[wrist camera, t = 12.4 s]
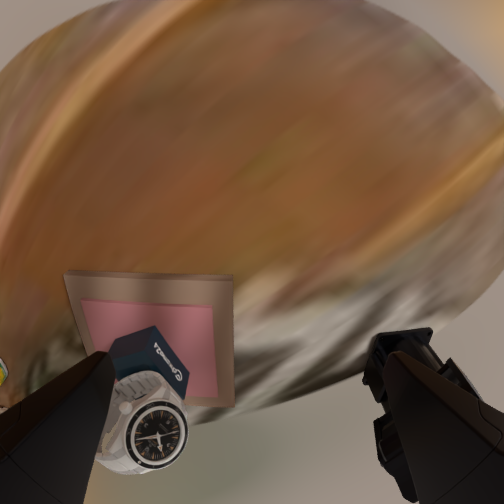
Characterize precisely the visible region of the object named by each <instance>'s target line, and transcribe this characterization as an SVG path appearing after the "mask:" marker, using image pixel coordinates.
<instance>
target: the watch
mask: <svg viewBox="0 0 504 504" xmlns="http://www.w3.org/2000/svg"><path fill="white" fill-rule="evenodd" d="M108 353H109V354H110V356H111V358H112V361H113V364H114V367H115V370H116V379H117V380H118V382H117V383H116V384H114V387H113V392H112V397H111V401H110V406H109V411H108V415H107V419H106V422H105V425H104V428H103V432H102V435H101V438H100V442H99V445H98V448H97V452H96V455H95V459H96V460H97V461H99V462H100V463H101V464H103V465H104V466H105V467H107V468H108V469H109V470H111V471H113V472H115V473H118V474H124V475H126V474H127V475H129V474H130V475H131V474H137V473H139V474H144V473H146V472H149V471H151V470H157V469H162V468H165V467H167V466H169V465H170V464H172V463H173V462H174V461H176V460H177V459H178V458H179V456H180V455H181V454H182V452H183V451H184V449H185V446H186V443H187V440H188V434H189V432H188V431H189V430H188V429H189V428H188V422H187V412H186V411H185V410H186V408H185V405H184V403H183V400H184V399H185V395H186V390H187V385H188V380H189V375H190V373H189V371H188V370H187V369H186V367H185V366H184V365H183V363H182V362H181V361H180V359H179V358H178V357H177V355H176V354H175V353H174V351H173V350H172V349H171V347H170V346H169V344H168V343H167V342H166V340H165V339H164V337H163V336H162V335H161V333H160V332H159V330H158V329H157V327H156V326H155V325H154V326H151V327H148V328H145V329H142V330H140V331H137V332H134V333H131V334H128V335H125V336H122V337H119V338H116V339H115V340H114V342H113V344H112V346H111V347H110V349H109V351H108ZM134 399H135V401H133V400H134ZM132 401H133V402H132ZM130 402H132V403H130ZM117 421H118V422H117ZM116 422H117V427H116V430H115V432H114V434H113V436H112V438H111V439H110V441H109V442H108V444H107V446H106V449H107V450H108V451H109V452H107V453H104V454H103V453H102V446H101V444H102V440H103V438H104V436H105V434H106V433H109V432H110V431H111V430H112V428H113V427H114V425H115V424H116Z"/></svg>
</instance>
